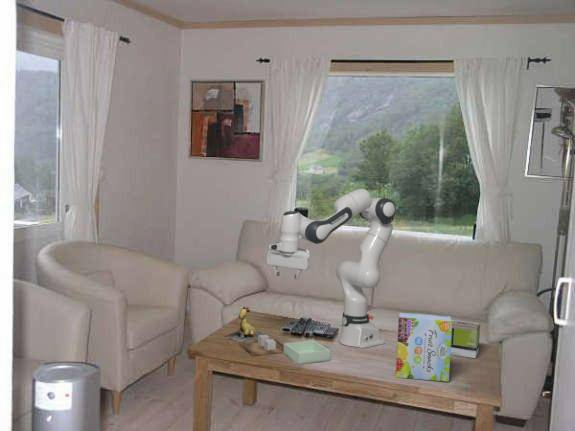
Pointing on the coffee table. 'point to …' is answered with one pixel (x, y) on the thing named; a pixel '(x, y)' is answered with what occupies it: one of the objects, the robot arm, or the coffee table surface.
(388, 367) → the coffee table surface
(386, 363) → the coffee table surface
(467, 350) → the tea box
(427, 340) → the snack box
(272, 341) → the stone cube
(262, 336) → the stone cube
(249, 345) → the walnut tray
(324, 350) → the green bin
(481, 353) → the coffee table surface
